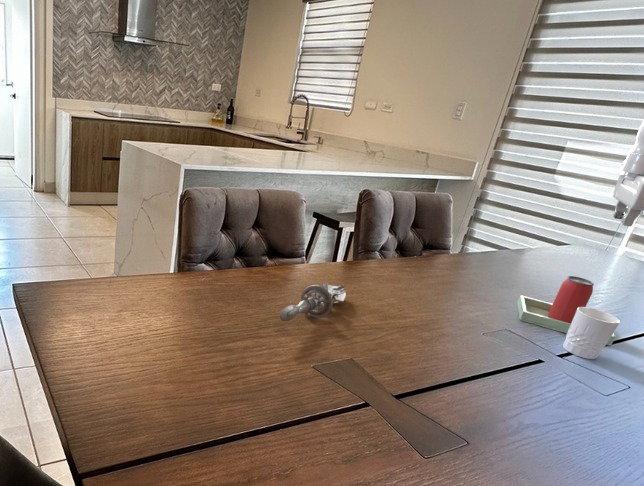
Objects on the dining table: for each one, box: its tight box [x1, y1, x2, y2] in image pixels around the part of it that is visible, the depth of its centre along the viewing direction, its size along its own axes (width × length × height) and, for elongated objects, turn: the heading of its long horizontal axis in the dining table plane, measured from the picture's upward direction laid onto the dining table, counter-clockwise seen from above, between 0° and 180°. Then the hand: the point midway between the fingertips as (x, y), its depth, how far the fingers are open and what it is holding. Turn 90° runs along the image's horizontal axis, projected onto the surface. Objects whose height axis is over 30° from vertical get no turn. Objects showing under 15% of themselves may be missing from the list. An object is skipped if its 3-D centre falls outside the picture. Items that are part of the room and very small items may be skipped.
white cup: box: [562, 306, 621, 360], centre depth 110 cm, size 8×8×10 cm
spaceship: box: [279, 282, 347, 322], centre depth 111 cm, size 8×35×8 cm
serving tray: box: [516, 294, 616, 347], centre depth 126 cm, size 20×14×3 cm
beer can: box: [548, 275, 594, 324], centre depth 124 cm, size 7×7×12 cm
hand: (621, 221), depth 121 cm, fingers open, 8 cm apart
